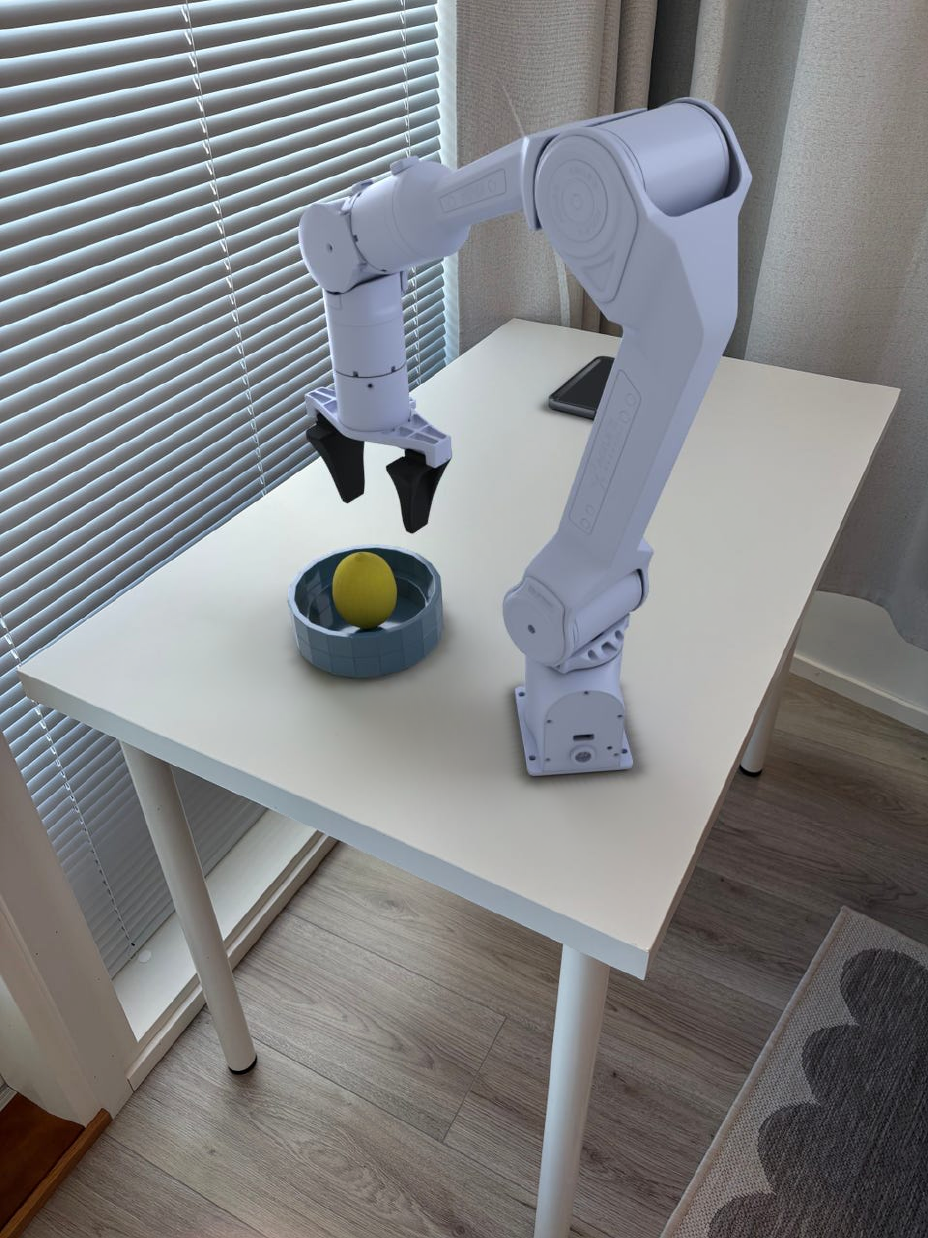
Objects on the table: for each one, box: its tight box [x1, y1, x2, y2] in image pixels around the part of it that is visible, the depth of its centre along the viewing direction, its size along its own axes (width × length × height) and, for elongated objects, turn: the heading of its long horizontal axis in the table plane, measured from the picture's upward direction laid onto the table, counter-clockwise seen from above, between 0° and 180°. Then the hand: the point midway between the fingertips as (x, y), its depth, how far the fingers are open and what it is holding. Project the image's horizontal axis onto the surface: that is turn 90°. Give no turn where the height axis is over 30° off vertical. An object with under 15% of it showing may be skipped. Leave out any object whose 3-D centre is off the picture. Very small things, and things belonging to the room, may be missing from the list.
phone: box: [548, 355, 615, 420], centre depth 121 cm, size 8×1×15 cm
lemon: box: [333, 552, 397, 629], centre depth 82 cm, size 6×6×8 cm
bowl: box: [287, 543, 445, 678], centre depth 84 cm, size 13×13×5 cm
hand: (384, 512), depth 81 cm, fingers open, 7 cm apart
